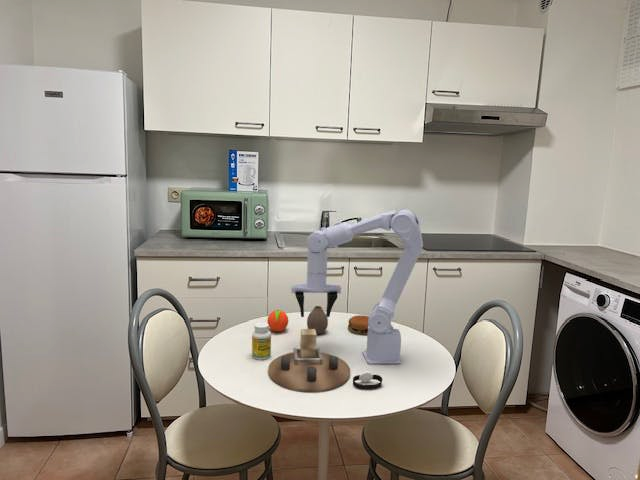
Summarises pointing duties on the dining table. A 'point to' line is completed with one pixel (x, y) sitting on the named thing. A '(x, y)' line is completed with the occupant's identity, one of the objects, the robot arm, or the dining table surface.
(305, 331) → the stool leg
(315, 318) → the vase
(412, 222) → the robot arm
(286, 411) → the dining table surface
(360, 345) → the dining table surface
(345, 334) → the dining table surface
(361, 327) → the burger
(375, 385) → the watch
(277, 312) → the clementine
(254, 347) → the supplement bottle
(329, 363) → the stool seat
